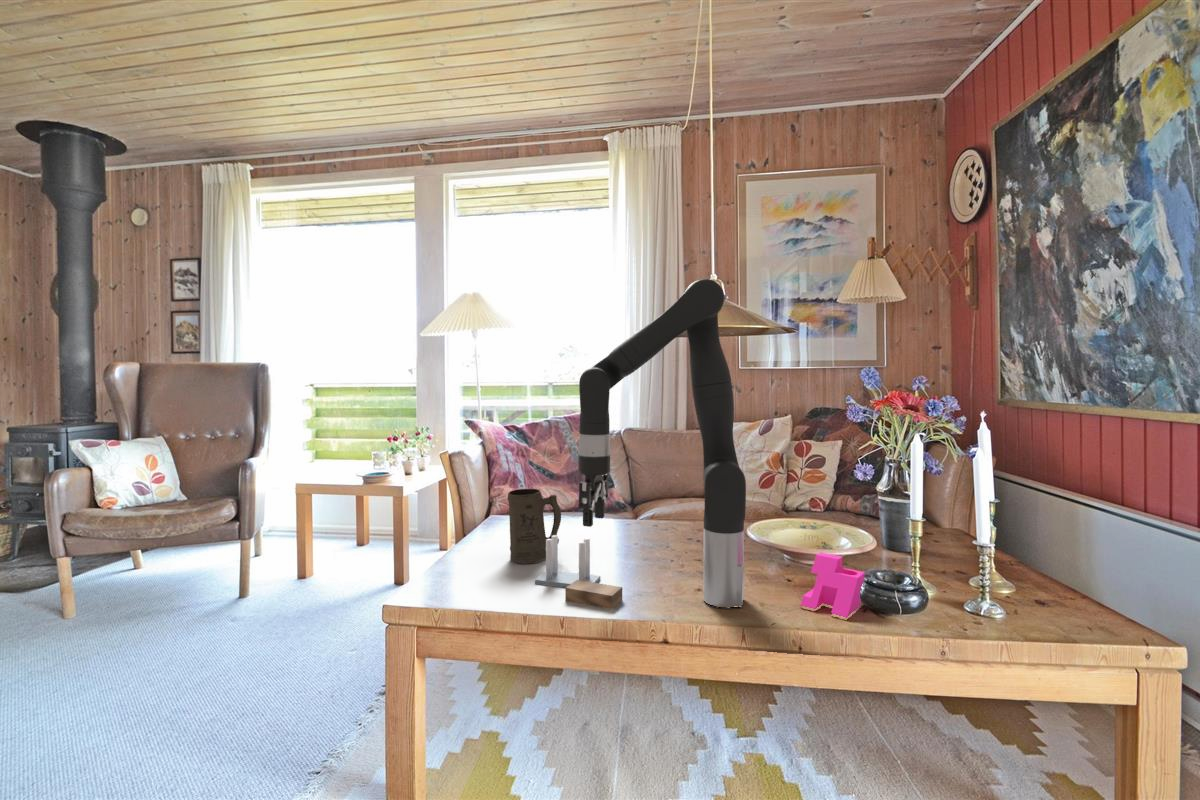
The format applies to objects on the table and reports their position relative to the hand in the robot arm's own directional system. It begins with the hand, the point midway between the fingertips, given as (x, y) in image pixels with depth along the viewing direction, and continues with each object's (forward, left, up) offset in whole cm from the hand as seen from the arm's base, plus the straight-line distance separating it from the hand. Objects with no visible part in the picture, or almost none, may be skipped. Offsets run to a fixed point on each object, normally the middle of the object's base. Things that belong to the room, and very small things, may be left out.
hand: (594, 521), depth 135 cm
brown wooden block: (0, 0, -19) cm, 19 cm away
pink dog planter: (-53, -14, -19) cm, 58 cm away
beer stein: (+27, -25, -19) cm, 41 cm away
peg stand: (+10, -10, -19) cm, 24 cm away
